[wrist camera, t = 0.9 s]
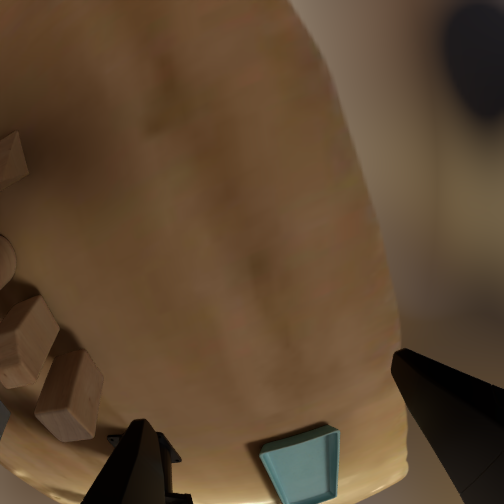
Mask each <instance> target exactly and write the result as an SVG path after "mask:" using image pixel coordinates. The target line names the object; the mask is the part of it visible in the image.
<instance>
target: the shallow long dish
mask: <svg viewBox="0 0 504 504" xmlns="http://www.w3.org/2000/svg"><path fill="white" fill-rule="evenodd" d="M339 450H340V430H338V429H336V428H334V427H332V426H329V425H325V426H323V427H320V428H317V429H314V430H311V431H308V432H305V433H302V434H299V435H295V436H292V437H289V438H285V439H282V440H278V441H274V442H270V443H267V444H264V445H263V447H262V449H261V451H260V454H259V457H260V459H261V461H262V463H263V465H264V467H265V469H266V471H267V473H268V475H269V477H270V479H271V481H272V483H273V485H274V487H275V489H276V491H277V494H278V496H279V497H280V500H281V502H282V504H318V503H321V502H324V501H327V500H330V499H333V498H335V497H337V488H338V470H339Z"/></svg>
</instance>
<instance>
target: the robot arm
mask: <svg viewBox="0 0 504 504" xmlns="http://www.w3.org/2000/svg"><path fill="white" fill-rule="evenodd" d="M391 374H392V376H393V378H394V380H395V382H396V384H397V386H398V389H399V391H400V393H401V395H402V397H403V399H404V401H405V403H406V405H407V407H408V409H409V411H410V412H411V414H412V416H413V418H414V419H415V420H416V422H417V424H418V425H419V427H420V429H421V430H422V432H423V434H424V435H425V437H426V438H427V440H428V441H429V443H430V445H431V447H432V448H433V450H434V451H435V453H436V455H437V456H438V458H439V460H440V462H441V463H442V465H443V466H444V468H445V470H446V472H447V473H448V475H449V477H450V479H451V480H452V482H453V484H454V485H455V487H456V489H457V491H458V492H459V494H460V496H461V498H462V500H463V502H464V503H465V504H504V389H502V388H500V387H497V386H495V385H491V384H490V383H487V382H485V381H483V380H480V379H478V378H475V377H472V376H470V375H468V374H465V373H463V372H460V371H458V370H456V369H454V368H451V367H449V366H447V365H444V364H442V363H440V362H437V361H435V360H433V359H430V358H428V357H426V356H423V355H421V354H419V353H416V352H414V351H412V350H409V349H407V348H403V349H400V350H398V351H396V352H395V353H394V354H393V359H392V365H391ZM107 440H108V441H109V442H110V443H111V444H112V445H113V446H114V447H115V449H114V451H113V452H112V454H111V455H110V457H109V459H108V460H107V462H106V463H105V465H104V467H103V468H102V470H101V471H100V473H99V475H98V476H97V478H96V479H95V481H94V483H93V484H92V486H91V487H90V489H89V491H88V492H87V494H86V495H85V497H84V499H83V501H82V502H81V503H80V504H193V501H192V497H191V494H186V493H185V494H179V493H173V490H172V467H171V463H178V462H181V461H182V459H181V457H180V456H179V455H178V453H177V452H176V451H175V449H174V448H173V447H172V445H171V444H170V442H169V441H168V440H167V438H166V437H165V436H164V434H163V433H161V432H155V430H154V429H153V428H152V426H151V425H150V423H149V422H148V421H147V420H146V419H135V420H133V421H132V422H131V424H130V425H129V427H128V428H127V430H126V432H125V433H124V435H108V436H107Z"/></svg>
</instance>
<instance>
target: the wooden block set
mask: <svg viewBox="0 0 504 504" xmlns="http://www.w3.org/2000/svg"><path fill="white" fill-rule="evenodd" d="M27 175H29V171H28V167H27V164H26V160H25V157H24V153H23V149H22V145H21V141H20V137H19V133H18V130H16V131H14V132H13V133H11V134H10V135H8V136H7V137H5V138H3V139H2V140H0V191H2V190H4V189H5V188H7V187H9V186H10V185H12V184H14V183H15V182H17V181H19V180H20V179H22V178H24V177H26V176H27ZM15 269H16V255H15V251H14V249H13V247H12V245H11V244H10V242H9V241H8V240H7V239H6V238H4V237H2V236H0V290H1V289H2V288H3V287H4V286H5V285H6V284H7V283H8V282H9V281H10V280H11V278H12V277H13V275H14V273H15ZM59 330H60V328H59V326H58V324H57V322H56V320H55V319H54V317H53V315H52V314H51V312H50V310H49V308H48V306H47V305H46V303H45V301H44V299H43V297H42V296H41V295H37V296H35V297H32V298H30V299H27V300H25V301H22V302H20V303H17V304H15V305H14V306H13V307H12V308H11V310H10V311H9V312H8V313H7V315H6V316H5V317H4V319H3V320H2V321H1V323H0V382H1V383H2V384H3V386H4V387H5V388H7V389H10V388H15V387H20V386H25V385H29V384H34V383H35V382H36V381H37V379H38V376H39V374H40V371H41V369H42V367H43V365H44V362H45V360H46V358H47V356H48V353H49V351H50V349H51V347H52V345H53V343H54V340H55V338H56V336H57V334H58V332H59ZM103 381H104V377H103V375H102V373H101V372H100V370H99V369H98V367H97V366H96V365H95V363H94V362H93V360H92V359H91V357H90V356H89V354H88V353H87V351H86V350H85V349H80V350H76V351H73V352H70V353H66V354H63V355H59V356H56V357H55V358H54V360H53V363H52V365H51V368H50V370H49V373H48V375H47V378H46V380H45V383H44V386H43V388H42V391H41V394H40V396H39V399H38V402H37V405H36V408H35V411H34V415H35V417H36V418H37V419H38V420H39V421H40V422H41V423H42V424H43V425H44V426H45V427H46V428H47V429H48V430H49V431H50V432H51V433H52V434H53V435H54V436H55V437H56V438H57V439H58V440H59V441H61V442H70V441H79V440H87V439H92V438H94V436H95V431H96V423H97V416H98V410H99V404H100V398H101V392H102V386H103Z"/></svg>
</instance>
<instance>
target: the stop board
mask: <svg viewBox="0 0 504 504" xmlns="http://www.w3.org/2000/svg"><path fill="white" fill-rule="evenodd" d="M10 414H11V413H10V412H9V411H8V409H7V408H6V407H5V406H4V404H3V403H2V402H1V401H0V440H1V437H2V434H3V432H4V429H5V427H6V424H7V422H8V419H9V417H10Z"/></svg>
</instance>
